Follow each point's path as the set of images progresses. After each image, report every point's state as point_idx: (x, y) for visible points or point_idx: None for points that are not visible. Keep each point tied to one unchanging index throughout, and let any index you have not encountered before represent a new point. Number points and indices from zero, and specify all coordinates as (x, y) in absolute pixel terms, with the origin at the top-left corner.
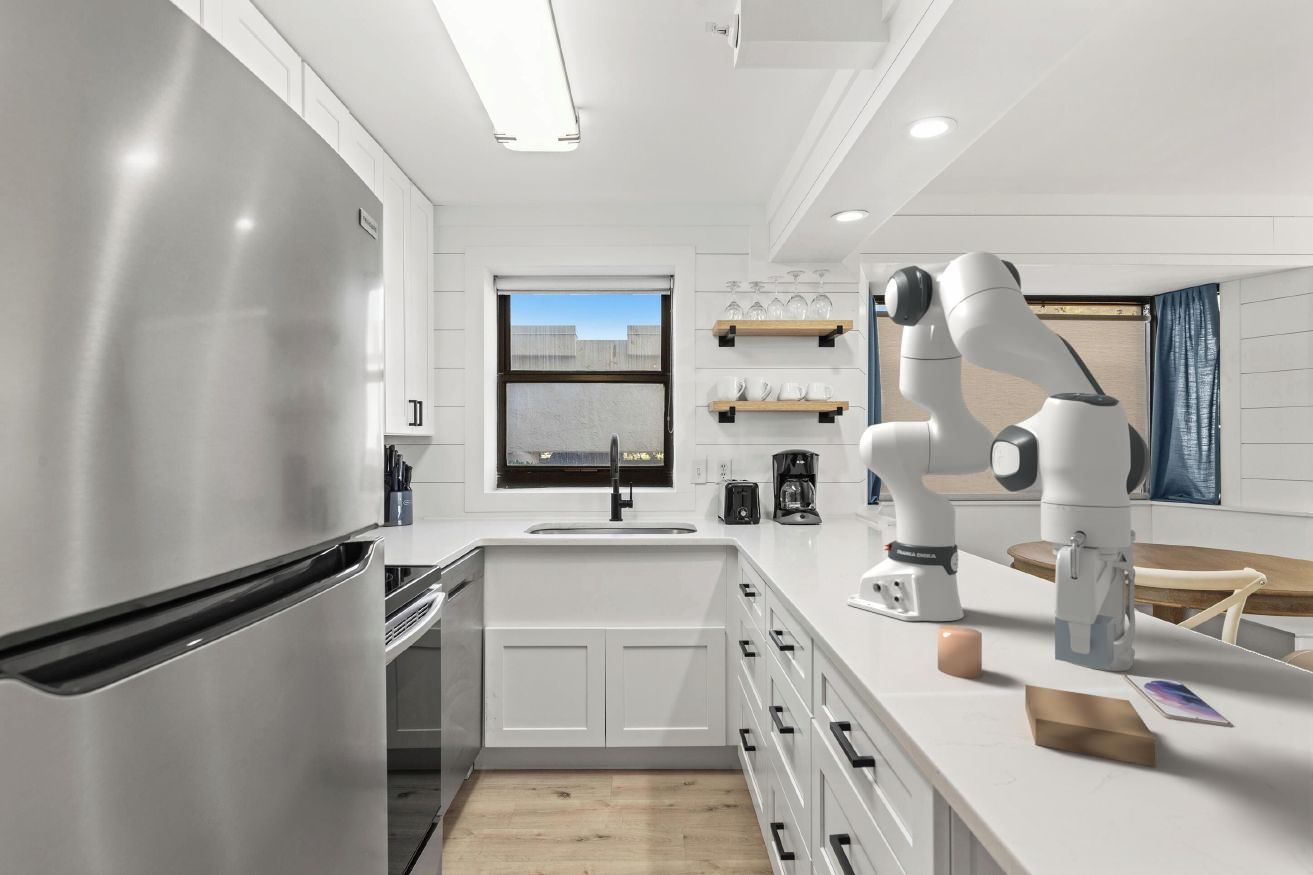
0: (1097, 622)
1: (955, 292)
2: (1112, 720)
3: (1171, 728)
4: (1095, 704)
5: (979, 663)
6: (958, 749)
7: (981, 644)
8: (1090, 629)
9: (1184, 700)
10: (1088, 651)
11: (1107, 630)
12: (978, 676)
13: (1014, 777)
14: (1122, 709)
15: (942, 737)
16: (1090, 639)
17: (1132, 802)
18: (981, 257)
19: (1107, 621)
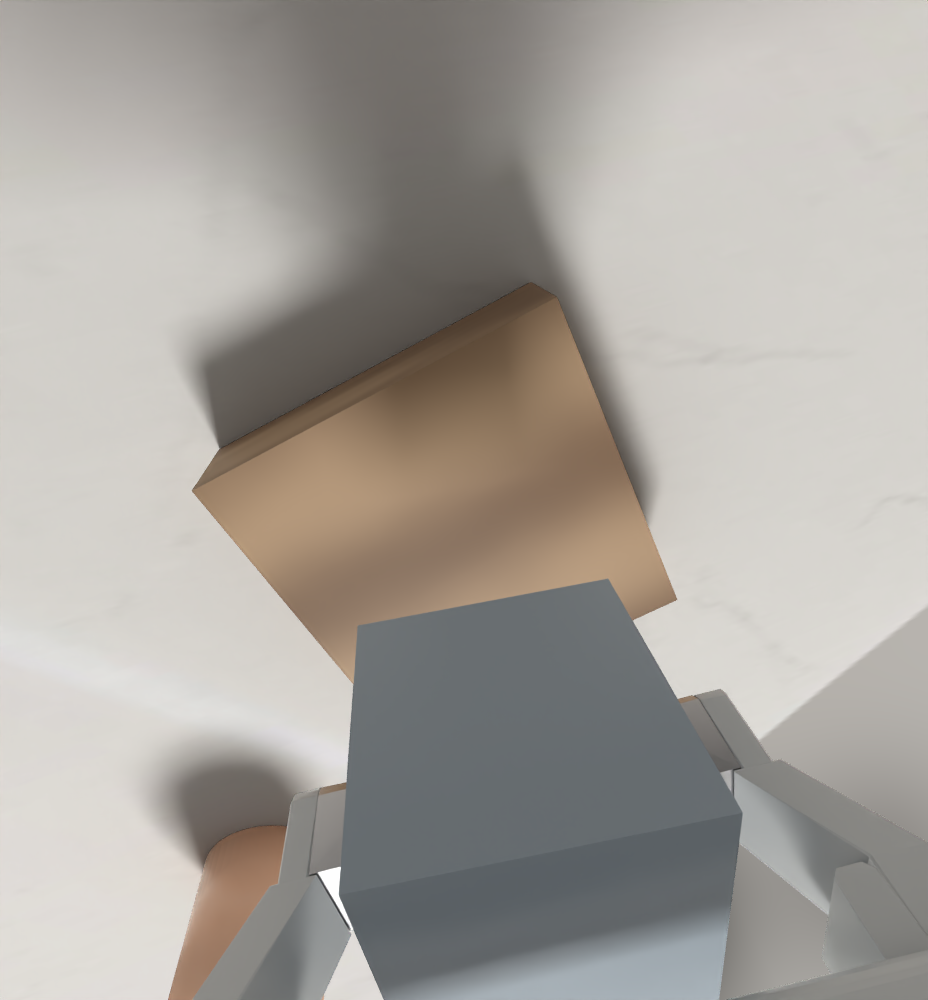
0: (678, 871)
1: None
2: (493, 455)
3: (83, 342)
4: (370, 546)
5: (253, 869)
6: (807, 634)
7: (221, 940)
8: (870, 820)
9: None
10: (727, 697)
11: (680, 774)
12: (268, 827)
13: (880, 502)
14: (331, 472)
15: (764, 680)
16: (721, 759)
17: (844, 258)
18: None
19: (568, 858)
